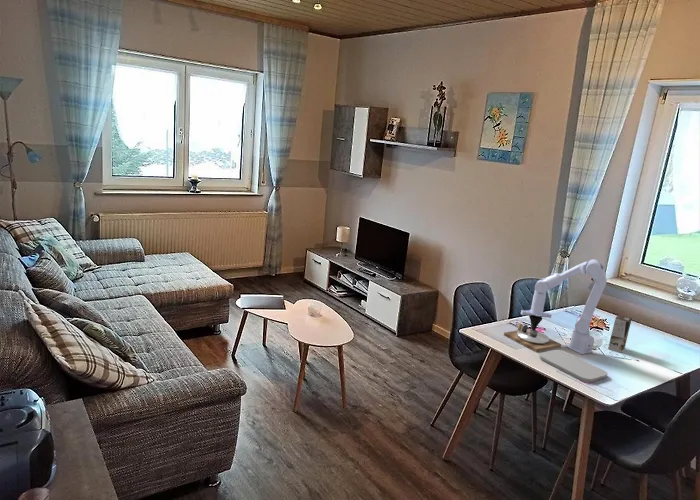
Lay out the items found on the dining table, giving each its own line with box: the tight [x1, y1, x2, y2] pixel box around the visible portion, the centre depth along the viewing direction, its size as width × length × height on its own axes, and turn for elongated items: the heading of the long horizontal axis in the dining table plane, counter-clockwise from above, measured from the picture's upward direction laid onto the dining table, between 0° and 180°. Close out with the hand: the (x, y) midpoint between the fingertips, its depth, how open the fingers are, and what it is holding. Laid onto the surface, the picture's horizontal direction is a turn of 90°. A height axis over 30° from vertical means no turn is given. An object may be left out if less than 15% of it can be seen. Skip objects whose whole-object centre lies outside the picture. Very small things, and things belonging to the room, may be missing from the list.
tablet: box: [538, 349, 608, 383], centre depth 223 cm, size 16×26×2 cm, turn 32°
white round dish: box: [516, 323, 550, 344], centre depth 247 cm, size 15×15×4 cm
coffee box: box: [607, 314, 633, 353], centre depth 249 cm, size 9×6×16 cm
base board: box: [503, 323, 562, 353], centre depth 248 cm, size 20×18×6 cm
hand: (533, 329), depth 253 cm, fingers closed
